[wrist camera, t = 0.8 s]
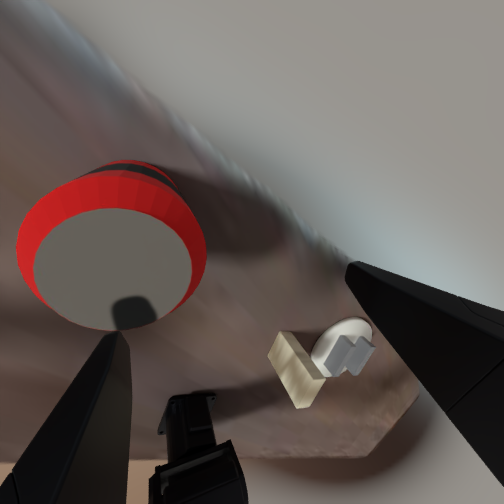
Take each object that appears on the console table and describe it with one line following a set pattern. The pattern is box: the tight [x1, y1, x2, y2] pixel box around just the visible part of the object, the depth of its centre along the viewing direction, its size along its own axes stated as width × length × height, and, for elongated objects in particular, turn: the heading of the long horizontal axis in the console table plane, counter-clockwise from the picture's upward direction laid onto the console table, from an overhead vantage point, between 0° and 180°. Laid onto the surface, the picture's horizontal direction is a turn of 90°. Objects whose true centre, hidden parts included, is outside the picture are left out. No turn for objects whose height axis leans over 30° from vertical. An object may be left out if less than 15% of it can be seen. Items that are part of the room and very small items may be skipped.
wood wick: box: [268, 331, 326, 409], centre depth 30 cm, size 4×2×8 cm, turn 157°
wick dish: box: [310, 317, 376, 377], centre depth 38 cm, size 12×12×4 cm
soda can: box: [16, 160, 207, 331], centre depth 15 cm, size 8×8×12 cm
